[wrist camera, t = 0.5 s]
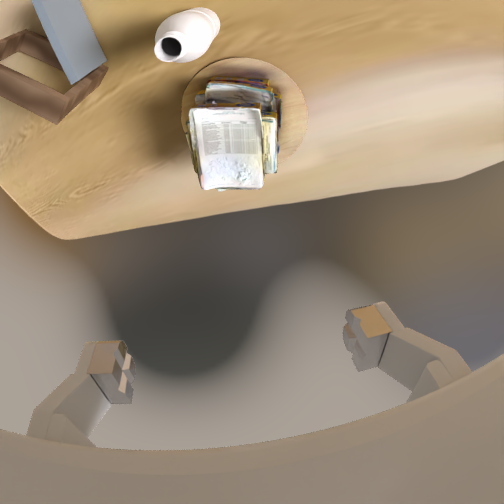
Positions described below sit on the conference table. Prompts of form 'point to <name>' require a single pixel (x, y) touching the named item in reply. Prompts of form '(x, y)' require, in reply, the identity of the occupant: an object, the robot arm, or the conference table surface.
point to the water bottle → (186, 35)
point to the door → (70, 36)
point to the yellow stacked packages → (241, 122)
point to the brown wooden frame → (35, 93)
